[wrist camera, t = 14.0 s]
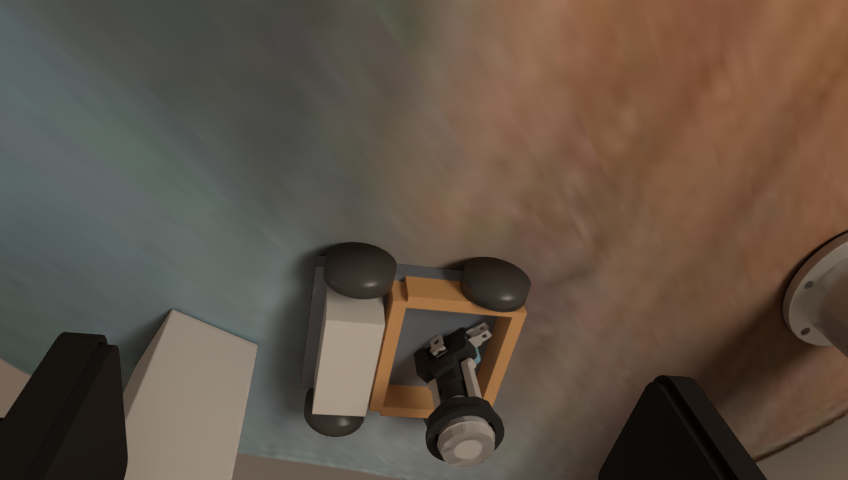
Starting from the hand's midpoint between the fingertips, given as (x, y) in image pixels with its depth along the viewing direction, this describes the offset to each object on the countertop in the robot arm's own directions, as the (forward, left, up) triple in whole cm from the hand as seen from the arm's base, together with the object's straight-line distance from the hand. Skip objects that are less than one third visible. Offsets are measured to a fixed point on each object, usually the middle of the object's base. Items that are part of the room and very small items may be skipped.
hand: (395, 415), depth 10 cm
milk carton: (+9, +26, -28) cm, 39 cm away
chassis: (-7, +21, -28) cm, 36 cm away
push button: (-11, +21, -27) cm, 36 cm away
